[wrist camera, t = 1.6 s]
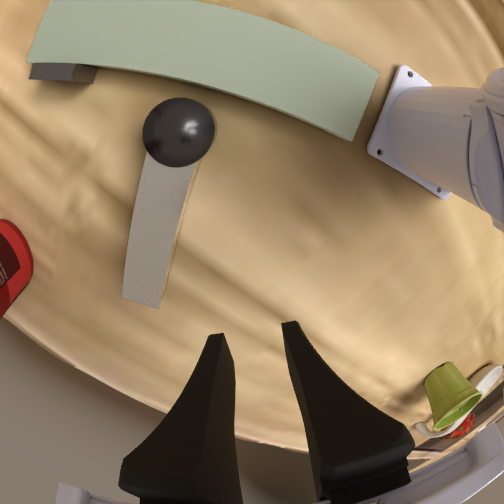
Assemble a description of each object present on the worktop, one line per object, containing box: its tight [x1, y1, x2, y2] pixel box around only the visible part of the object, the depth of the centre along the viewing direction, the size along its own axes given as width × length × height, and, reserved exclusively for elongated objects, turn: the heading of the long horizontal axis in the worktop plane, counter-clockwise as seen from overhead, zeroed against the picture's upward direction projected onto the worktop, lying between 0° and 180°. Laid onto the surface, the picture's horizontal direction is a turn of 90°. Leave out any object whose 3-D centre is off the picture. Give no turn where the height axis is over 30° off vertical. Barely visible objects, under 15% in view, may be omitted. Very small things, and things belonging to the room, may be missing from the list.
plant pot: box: [424, 362, 483, 430], centre depth 30 cm, size 9×9×9 cm
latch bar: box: [122, 98, 217, 309], centre depth 17 cm, size 14×4×3 cm, turn 160°
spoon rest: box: [415, 364, 502, 438], centre depth 38 cm, size 24×12×7 cm, turn 148°
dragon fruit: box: [439, 411, 476, 440], centre depth 46 cm, size 8×8×12 cm
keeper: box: [29, 63, 98, 84], centre depth 12 cm, size 4×1×3 cm, turn 70°
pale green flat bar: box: [26, 0, 380, 142], centre depth 13 cm, size 24×5×2 cm, turn 70°
